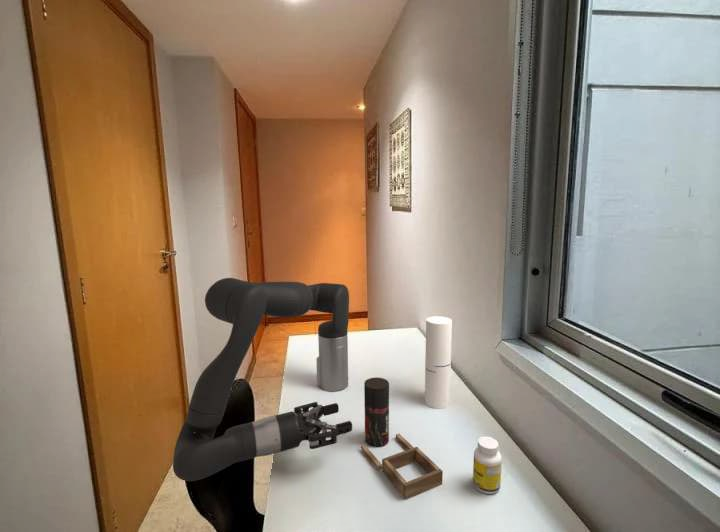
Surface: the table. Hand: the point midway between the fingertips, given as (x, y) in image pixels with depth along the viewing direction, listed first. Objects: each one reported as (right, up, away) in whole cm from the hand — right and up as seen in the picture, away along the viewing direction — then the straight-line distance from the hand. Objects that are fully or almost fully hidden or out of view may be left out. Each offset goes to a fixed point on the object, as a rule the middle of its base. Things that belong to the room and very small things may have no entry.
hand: (344, 416), depth 89 cm
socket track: (+13, -9, -5) cm, 16 cm away
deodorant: (+8, -8, +5) cm, 12 cm away
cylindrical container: (+26, -5, +22) cm, 35 cm away
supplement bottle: (+30, -10, -11) cm, 33 cm away
